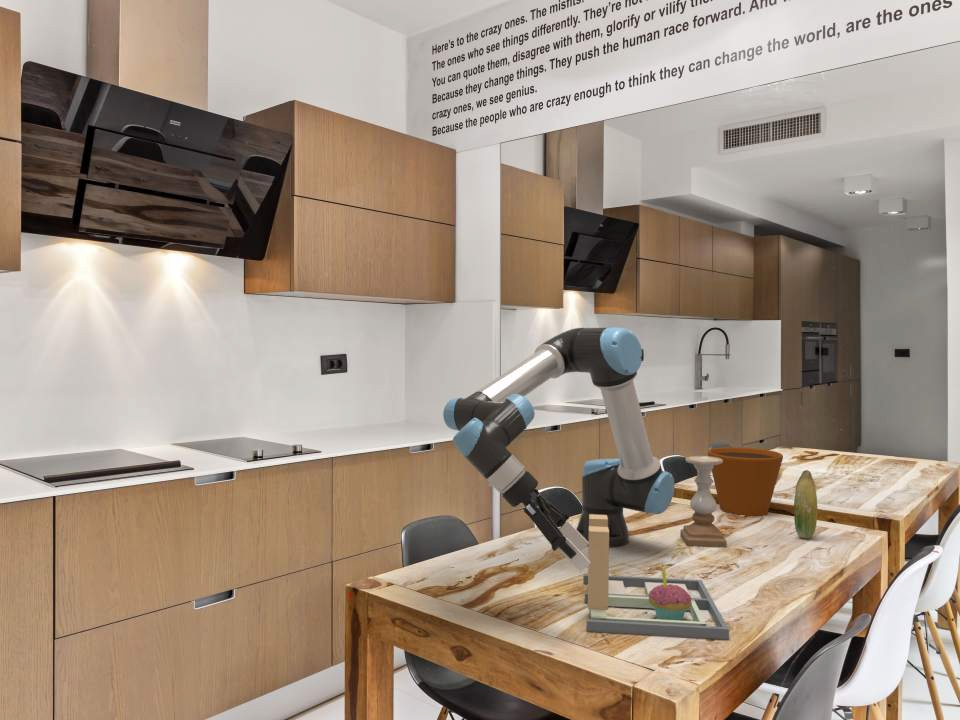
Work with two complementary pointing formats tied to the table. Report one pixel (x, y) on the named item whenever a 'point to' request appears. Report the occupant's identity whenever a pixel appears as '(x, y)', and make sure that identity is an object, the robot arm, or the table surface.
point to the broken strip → (618, 586)
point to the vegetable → (805, 506)
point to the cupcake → (669, 600)
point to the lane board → (659, 628)
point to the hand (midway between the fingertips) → (585, 557)
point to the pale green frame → (600, 584)
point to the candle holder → (703, 507)
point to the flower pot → (745, 479)
